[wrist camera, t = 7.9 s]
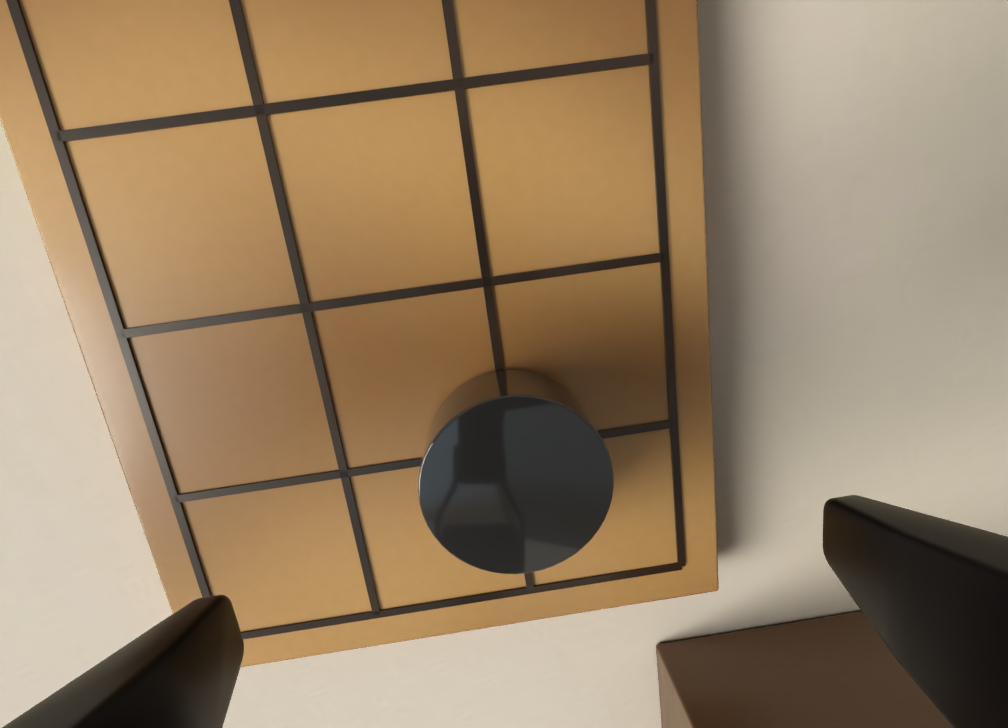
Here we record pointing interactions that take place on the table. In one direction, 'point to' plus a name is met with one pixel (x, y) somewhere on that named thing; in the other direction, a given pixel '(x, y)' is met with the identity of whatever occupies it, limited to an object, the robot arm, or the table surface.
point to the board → (373, 283)
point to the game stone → (514, 473)
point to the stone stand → (791, 679)
